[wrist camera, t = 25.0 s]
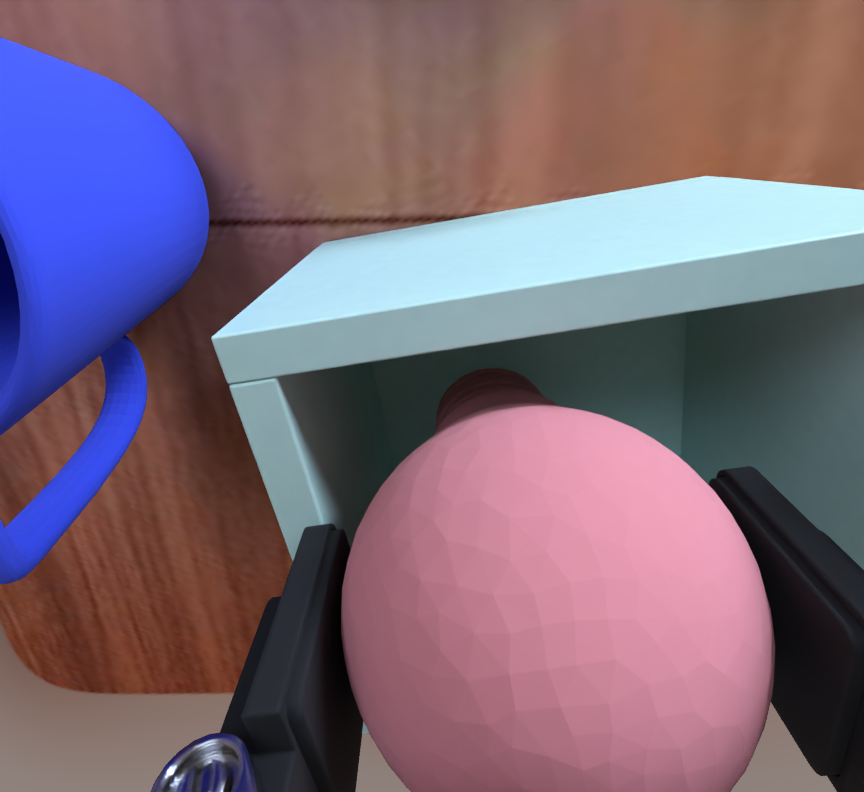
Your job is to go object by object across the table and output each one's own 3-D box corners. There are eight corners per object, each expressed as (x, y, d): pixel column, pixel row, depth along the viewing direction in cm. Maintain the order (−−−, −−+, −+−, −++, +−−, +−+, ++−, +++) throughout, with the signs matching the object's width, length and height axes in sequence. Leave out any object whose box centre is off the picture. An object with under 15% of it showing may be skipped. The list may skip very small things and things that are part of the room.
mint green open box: (385, 499, 22) (355, 735, 13) (321, 242, 18) (208, 337, 9) (692, 457, 21) (880, 679, 12) (707, 175, 17) (1024, 204, 8)
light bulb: (465, 246, 15) (557, 492, 4) (646, 374, 17) (1050, 786, 6) (342, 427, 17) (197, 878, 7) (510, 522, 19) (616, 1005, 8)
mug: (62, 413, 20) (-230, 623, 11) (-61, 46, 15) (-782, -105, 6) (272, 413, 20) (146, 624, 11) (219, 48, 15) (-87, -100, 6)
